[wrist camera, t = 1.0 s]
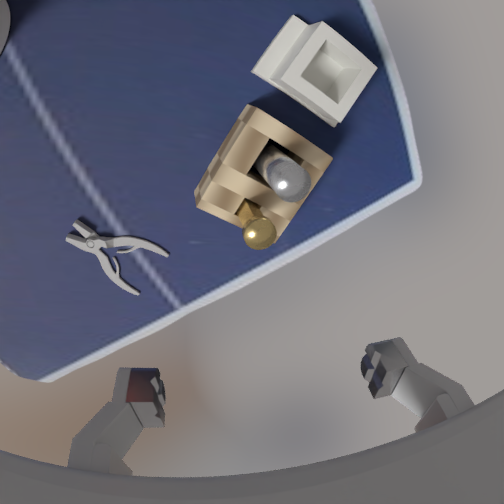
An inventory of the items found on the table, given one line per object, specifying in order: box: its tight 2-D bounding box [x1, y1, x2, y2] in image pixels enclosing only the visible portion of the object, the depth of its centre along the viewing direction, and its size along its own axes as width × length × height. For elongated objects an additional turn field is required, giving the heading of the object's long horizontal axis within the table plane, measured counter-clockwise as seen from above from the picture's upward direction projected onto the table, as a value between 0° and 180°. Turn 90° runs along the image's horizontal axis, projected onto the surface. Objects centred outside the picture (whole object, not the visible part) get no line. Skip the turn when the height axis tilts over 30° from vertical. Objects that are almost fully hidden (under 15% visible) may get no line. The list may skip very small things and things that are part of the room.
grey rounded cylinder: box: [253, 143, 311, 202], centre depth 37 cm, size 4×4×12 cm
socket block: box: [194, 104, 333, 243], centre depth 40 cm, size 12×14×6 cm
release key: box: [236, 198, 277, 250], centre depth 37 cm, size 4×4×8 cm
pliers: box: [66, 220, 169, 295], centre depth 44 cm, size 10×2×15 cm
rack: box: [251, 15, 377, 127], centre depth 34 cm, size 14×10×6 cm
